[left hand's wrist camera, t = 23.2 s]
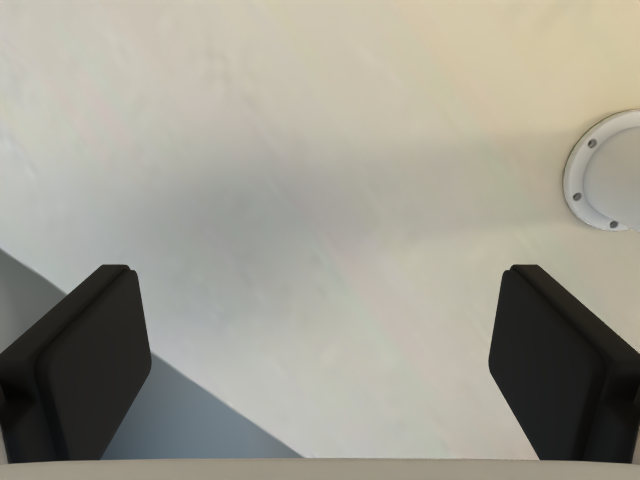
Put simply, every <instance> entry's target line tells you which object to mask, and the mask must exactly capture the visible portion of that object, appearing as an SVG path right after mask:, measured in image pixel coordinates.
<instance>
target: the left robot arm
mask: <svg viewBox="0 0 640 480" xmlns="http://www.w3.org/2000/svg"><path fill="white" fill-rule="evenodd" d="M588 142H589V144H588ZM563 188H564V194H565V198H566V201H567V203H568V205H569V207H570V209H571V210H572V212H573V213H574V214H575V215H576V216H577V217H578V218H579V219H581V220H582V221H583V222H585V223H587V224H589V225H591V226H592V227H595V228H598V229H601V230H606V231H624V230H629V229H632V230H634V231H636V232H638V233H640V109H639V110H628V111H625V112H621V113H617V114H615V115H613V116H610V117H608V118H606V119H604V120H603V121H601V122H600V123H598V124H597V125H595V126H594V127H593V128H591V129H590V130H589V131H588V132H587V133H586V134H585V135H584V136H583V137H582V138H581V140H580V141H579V142H578V143H577V145H576V146H575V148H574V150H573V151H572V153H571V155H570V157H569V159H568V162H567V165H566V167H565V172H564V178H563ZM574 194H575V195H574ZM488 362H489V370H490V373H491V375H492V377H493V378H494V380H495V382H496V384H497V385H498V387H499V389H500V391H501V392H502V394H503V396H504V398H505V399H506V401H507V403H508V405H509V406H510V408H511V410H512V412H513V413H514V415H515V417H516V419H517V420H518V422H519V424H520V426H521V427H522V429H523V431H524V433H525V434H526V436H527V438H528V440H529V441H530V443H531V445H532V447H533V449H534V450H535V452H536V454H537V456H538V457H539V459H540V460H497V459H371V458H273V459H272V458H271V459H270V458H269V459H144V460H100V459H101V457H102V456H103V454H104V452H105V450H106V448H107V447H108V445H109V443H110V441H111V440H112V438H113V436H114V434H115V433H116V431H117V429H118V427H119V426H120V424H121V422H122V420H123V419H124V417H125V415H126V413H127V412H128V410H129V408H130V406H131V405H132V403H133V401H134V399H135V398H136V396H137V394H138V392H139V391H140V389H141V387H142V385H143V384H144V382H145V380H146V378H147V377H148V375H149V373H150V370H151V353H150V347H149V341H148V335H147V329H146V323H145V317H144V311H143V305H142V299H141V293H140V287H139V281H138V276H137V273H136V271H135V270H130V268H129V266H127V265H102V266H100V267H99V268H98V269H97V270H96V271H94V272H93V273H92V274H91V275H90V276H89V277H88V278H87V279H85V280H84V281H83V282H82V283H81V284H80V285H79V286H77V287H76V288H75V289H74V290H73V291H72V292H71V293H69V294H68V295H67V296H66V297H65V298H64V299H63V300H61V301H60V302H59V303H58V304H57V305H56V306H55V307H53V308H52V309H51V310H50V311H49V312H48V313H47V314H45V315H44V316H43V317H42V318H41V319H40V320H39V321H37V322H36V323H35V324H34V325H33V326H32V327H31V328H29V329H28V330H27V331H26V332H25V333H24V334H23V335H21V336H20V337H19V338H18V339H17V340H16V341H15V342H13V343H12V344H11V345H10V346H9V347H8V348H7V349H6V350H4V351H3V352H2V353H1V354H0V480H640V354H639V353H638V352H637V351H636V350H635V349H633V348H632V347H631V346H630V345H629V344H628V343H627V342H625V341H624V340H623V339H622V338H621V337H620V336H619V335H617V334H616V333H615V332H614V331H613V330H612V329H611V328H609V327H608V326H607V325H606V324H605V323H604V322H603V321H601V320H600V319H599V318H598V317H597V316H596V315H595V314H593V313H592V312H591V311H590V310H589V309H588V308H587V307H585V306H584V305H583V304H582V303H581V302H580V301H579V300H577V299H576V298H575V297H574V296H573V295H572V294H571V293H569V292H568V291H567V290H566V289H565V288H564V287H563V286H561V285H560V284H559V283H558V282H557V281H556V280H555V279H553V278H552V277H551V276H550V275H549V274H548V273H547V272H546V271H544V270H543V269H542V268H541V267H540V266H538V265H513V266H511V268H510V270H505V271H504V273H503V276H502V281H501V287H500V293H499V299H498V305H497V311H496V317H495V323H494V329H493V335H492V341H491V347H490V353H489V361H488Z"/></svg>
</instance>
